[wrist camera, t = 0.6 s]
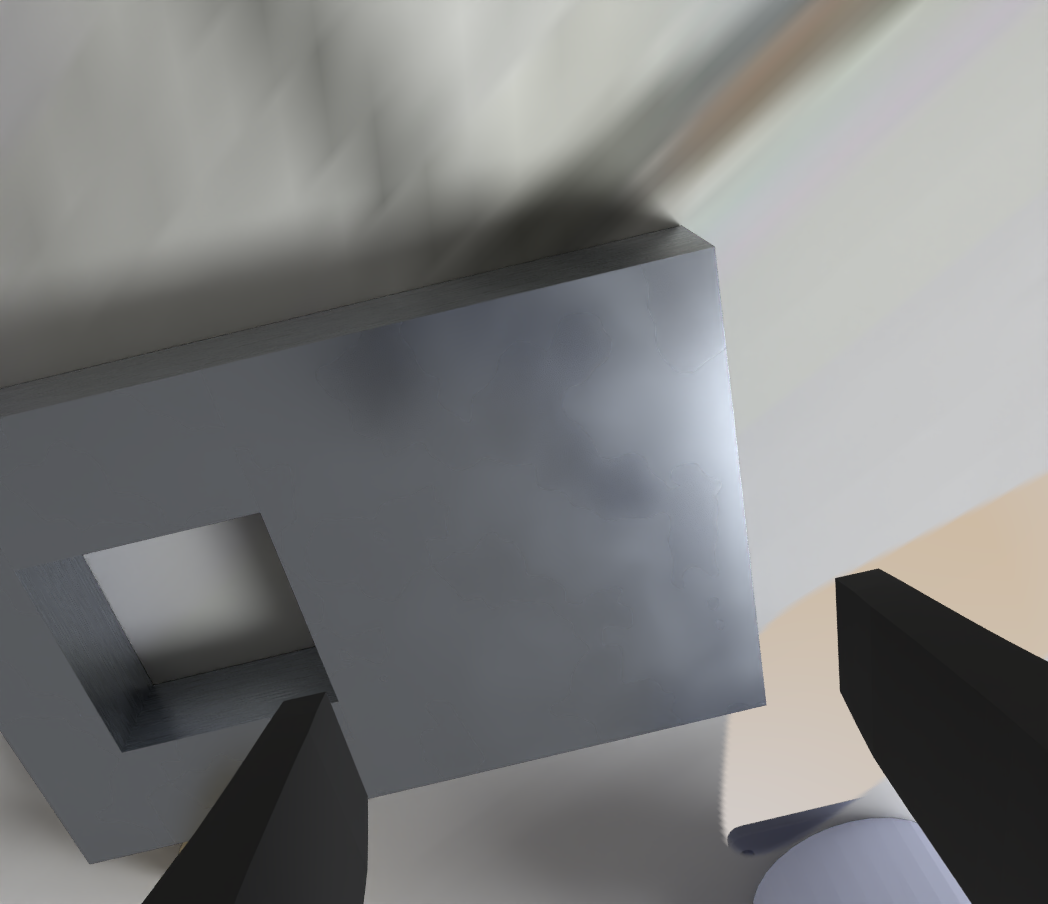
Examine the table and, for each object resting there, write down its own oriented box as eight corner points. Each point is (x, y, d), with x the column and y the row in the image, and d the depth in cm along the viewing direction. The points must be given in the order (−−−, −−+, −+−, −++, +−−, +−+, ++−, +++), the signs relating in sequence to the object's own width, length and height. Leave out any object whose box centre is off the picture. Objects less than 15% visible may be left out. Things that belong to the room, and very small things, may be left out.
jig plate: (735, 645, 23) (766, 705, 21) (121, 791, 23) (89, 864, 21) (681, 225, 18) (714, 246, 16) (-108, 414, 18) (-181, 461, 16)
